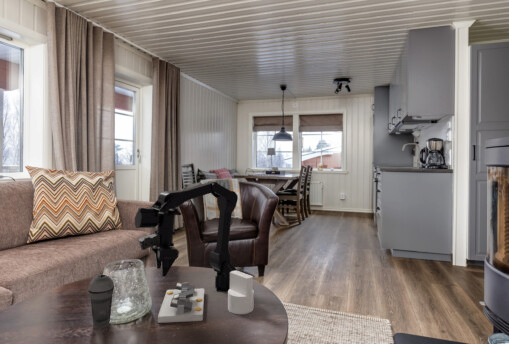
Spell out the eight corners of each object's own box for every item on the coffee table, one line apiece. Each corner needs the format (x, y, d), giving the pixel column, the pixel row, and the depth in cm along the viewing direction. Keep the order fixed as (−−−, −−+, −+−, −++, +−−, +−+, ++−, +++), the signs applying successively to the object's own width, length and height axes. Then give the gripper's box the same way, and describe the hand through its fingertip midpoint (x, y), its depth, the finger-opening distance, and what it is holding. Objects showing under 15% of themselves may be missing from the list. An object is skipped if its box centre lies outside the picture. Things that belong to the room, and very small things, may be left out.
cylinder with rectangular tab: (222, 308, 111) (222, 274, 111) (240, 300, 118) (241, 268, 117) (240, 317, 105) (241, 281, 105) (258, 308, 112) (259, 274, 111)
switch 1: (194, 288, 121) (195, 286, 121) (193, 293, 117) (194, 290, 117) (176, 284, 120) (176, 281, 120) (174, 288, 116) (175, 286, 116)
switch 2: (193, 291, 114) (193, 288, 114) (193, 296, 110) (192, 293, 110) (174, 297, 113) (173, 294, 113) (173, 302, 109) (172, 299, 109)
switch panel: (204, 293, 123) (204, 281, 123) (202, 320, 102) (202, 305, 102) (167, 294, 121) (167, 282, 121) (157, 322, 100) (157, 307, 100)
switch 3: (191, 305, 107) (192, 302, 107) (191, 310, 103) (192, 307, 103) (171, 300, 106) (172, 297, 106) (169, 306, 102) (170, 303, 102)
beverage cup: (104, 332, 94) (104, 266, 94) (82, 329, 96) (82, 264, 95) (119, 320, 102) (119, 258, 101) (99, 318, 103) (99, 257, 102)
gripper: (137, 222, 116) (133, 265, 115) (146, 232, 99) (140, 282, 99) (168, 223, 121) (164, 264, 121) (181, 232, 104) (176, 280, 104)
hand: (161, 272), depth 111 cm, fingers open, 9 cm apart
